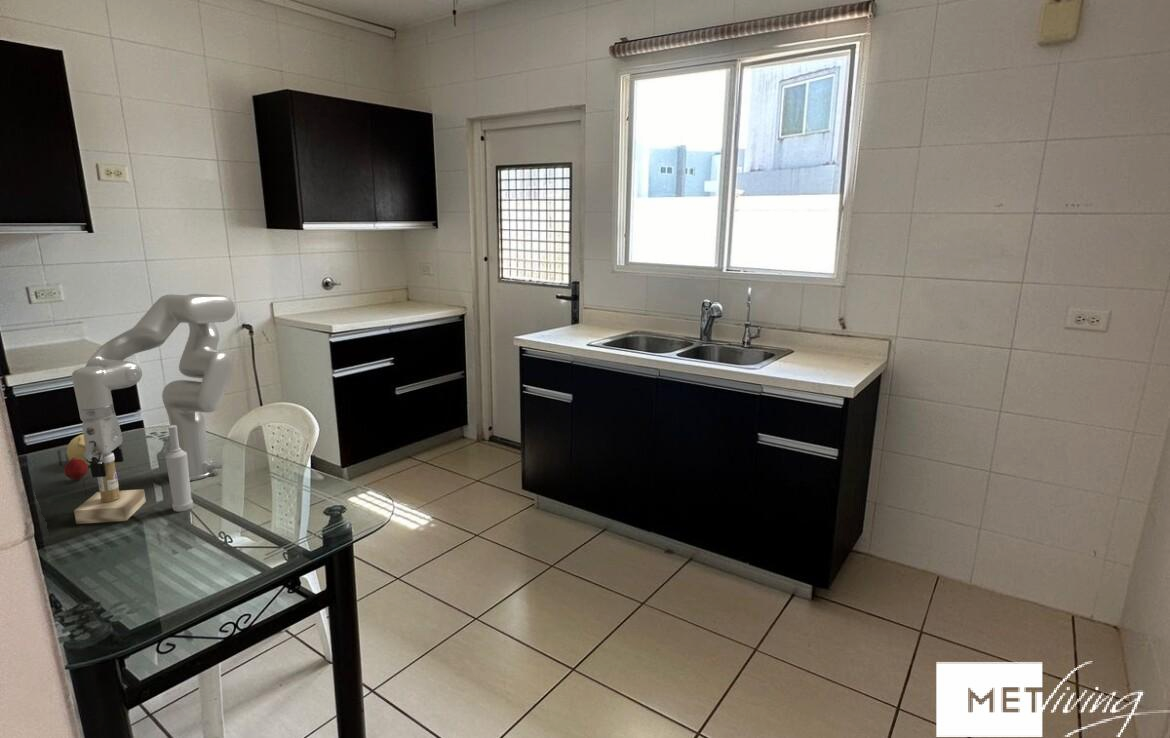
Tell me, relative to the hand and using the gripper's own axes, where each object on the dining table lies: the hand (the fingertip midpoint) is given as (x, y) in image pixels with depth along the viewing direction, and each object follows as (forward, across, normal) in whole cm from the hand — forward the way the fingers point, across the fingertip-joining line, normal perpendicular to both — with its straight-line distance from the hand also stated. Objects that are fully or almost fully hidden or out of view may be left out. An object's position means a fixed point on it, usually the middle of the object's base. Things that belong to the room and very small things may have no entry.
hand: (108, 469), depth 174 cm
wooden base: (+13, -1, 0) cm, 13 cm away
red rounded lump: (+14, +25, +22) cm, 36 cm away
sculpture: (+14, +40, +25) cm, 49 cm away
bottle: (+13, -1, -17) cm, 22 cm away
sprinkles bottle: (+9, -1, 0) cm, 9 cm away
